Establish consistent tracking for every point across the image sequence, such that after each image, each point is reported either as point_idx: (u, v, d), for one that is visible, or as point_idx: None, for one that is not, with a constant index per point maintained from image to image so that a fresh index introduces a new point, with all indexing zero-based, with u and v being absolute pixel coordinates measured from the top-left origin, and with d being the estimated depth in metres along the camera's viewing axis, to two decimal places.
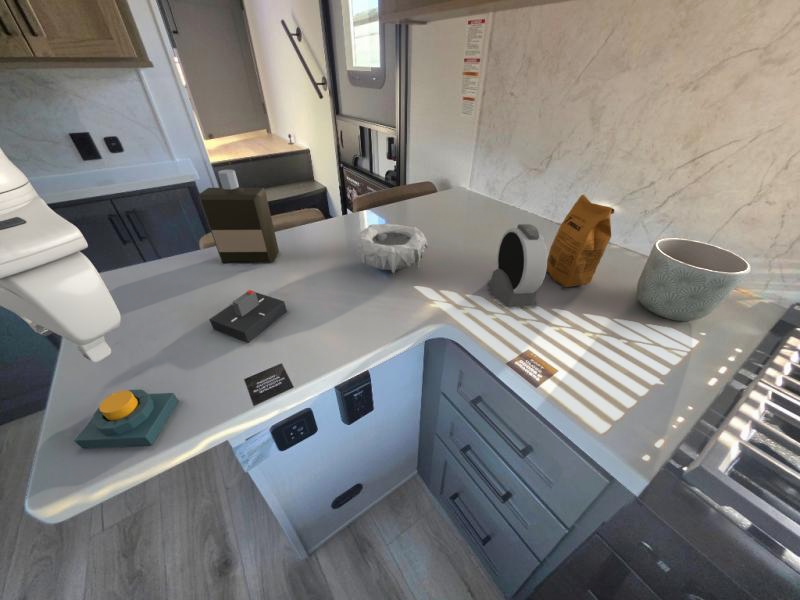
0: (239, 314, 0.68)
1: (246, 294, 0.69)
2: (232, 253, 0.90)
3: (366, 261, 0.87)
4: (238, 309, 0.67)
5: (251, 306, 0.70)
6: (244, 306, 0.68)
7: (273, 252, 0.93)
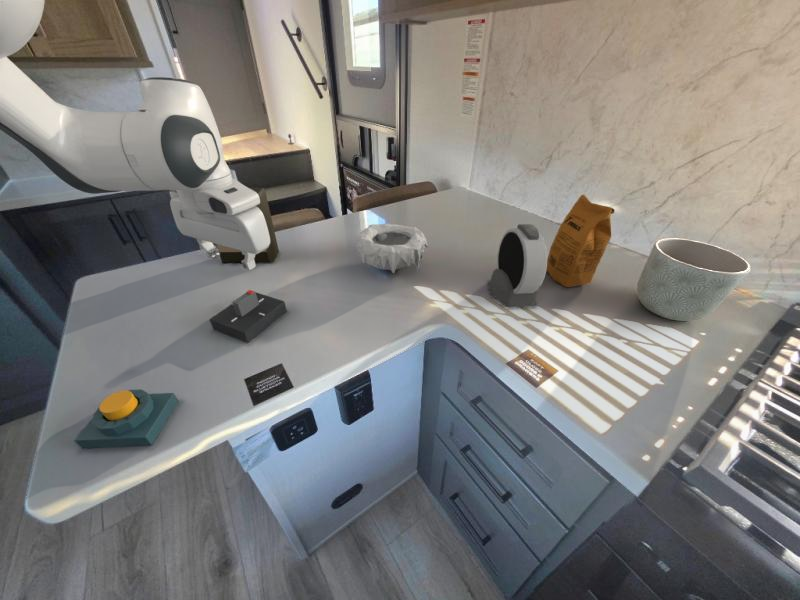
0: (239, 314, 0.68)
1: (246, 294, 0.69)
2: (232, 253, 0.90)
3: (366, 261, 0.87)
4: (238, 309, 0.67)
5: (251, 306, 0.70)
6: (244, 306, 0.68)
7: (273, 252, 0.93)
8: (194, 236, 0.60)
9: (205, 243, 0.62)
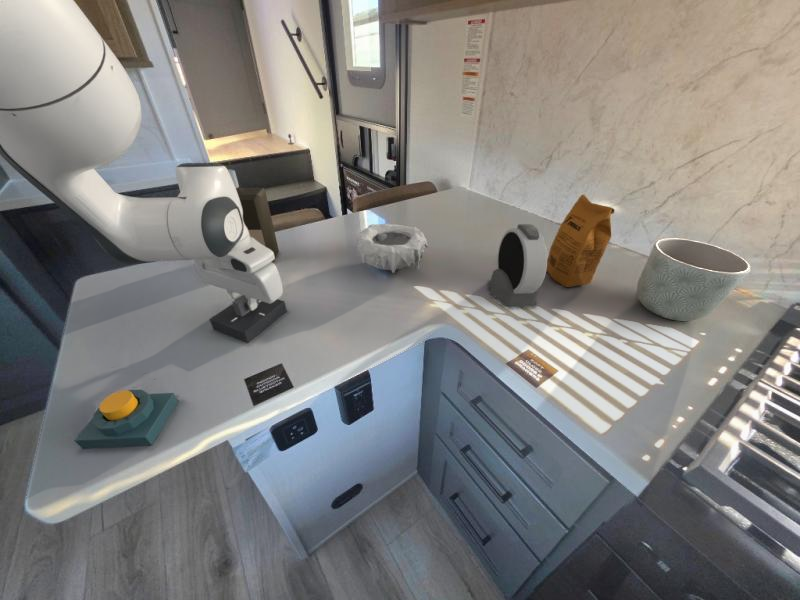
0: (239, 314, 0.68)
1: None
2: None
3: (366, 261, 0.87)
4: (238, 309, 0.67)
5: None
6: (244, 306, 0.68)
7: (273, 252, 0.93)
8: (214, 284, 0.67)
9: (234, 293, 0.68)
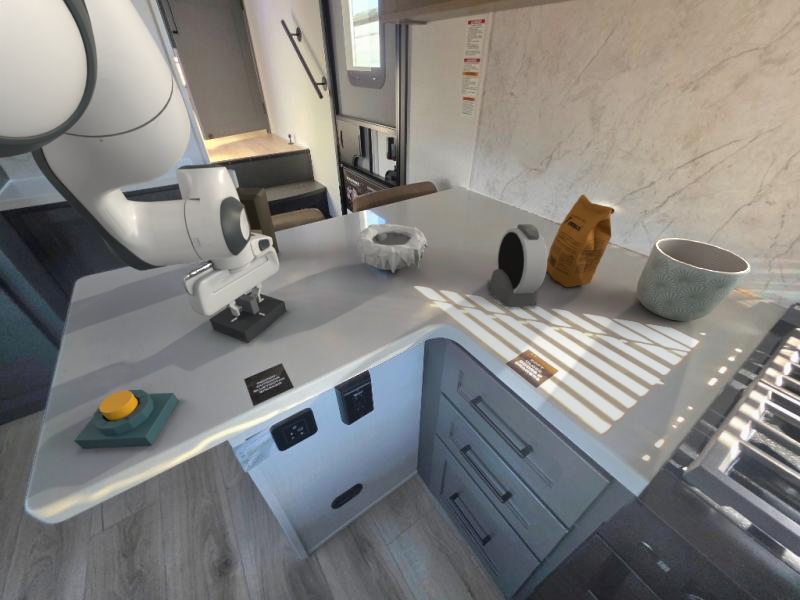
0: (257, 310, 0.69)
1: (240, 296, 0.68)
2: None
3: (366, 261, 0.87)
4: (256, 304, 0.68)
5: None
6: None
7: None
8: (225, 304, 0.62)
9: None
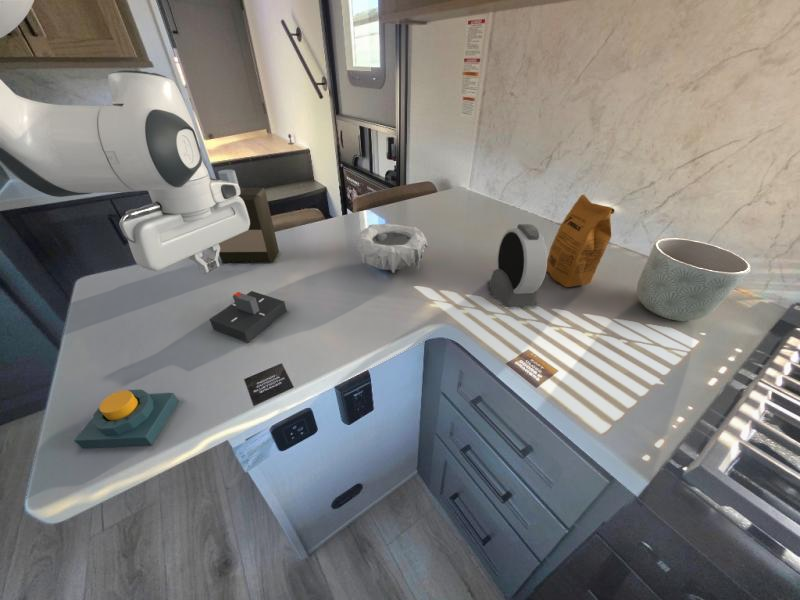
0: (257, 310, 0.69)
1: (240, 296, 0.68)
2: (232, 253, 0.90)
3: (366, 261, 0.87)
4: (256, 304, 0.68)
5: None
6: None
7: (273, 252, 0.93)
8: (179, 258, 0.51)
9: None
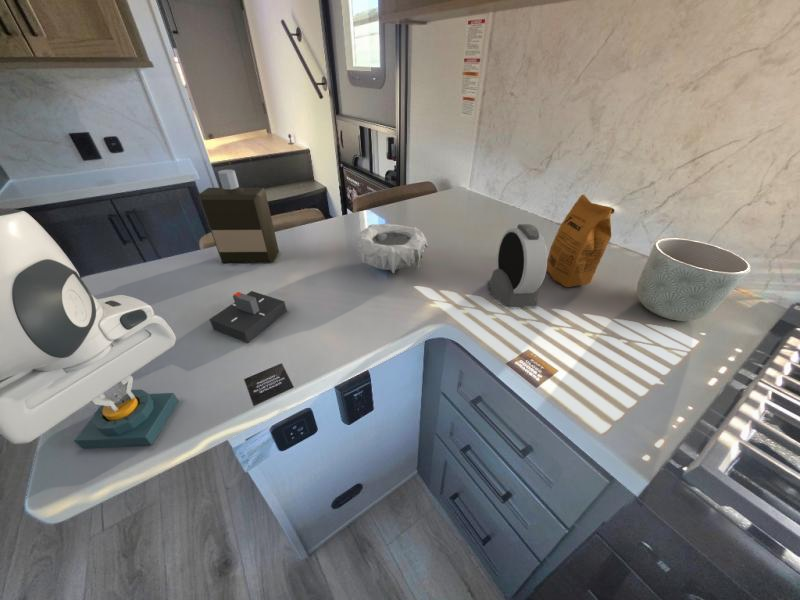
0: (257, 310, 0.69)
1: (240, 296, 0.68)
2: (232, 253, 0.90)
3: (366, 261, 0.87)
4: (256, 304, 0.68)
5: None
6: None
7: (273, 252, 0.93)
8: (63, 416, 0.40)
9: None
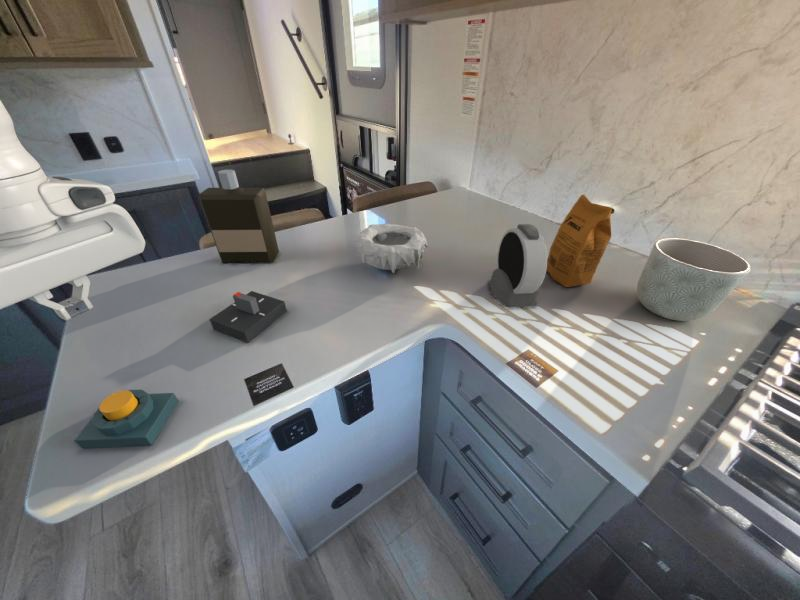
0: (257, 310, 0.69)
1: (240, 296, 0.68)
2: (232, 253, 0.90)
3: (366, 261, 0.87)
4: (256, 304, 0.68)
5: None
6: None
7: (273, 252, 0.93)
8: None
9: (48, 300, 0.37)
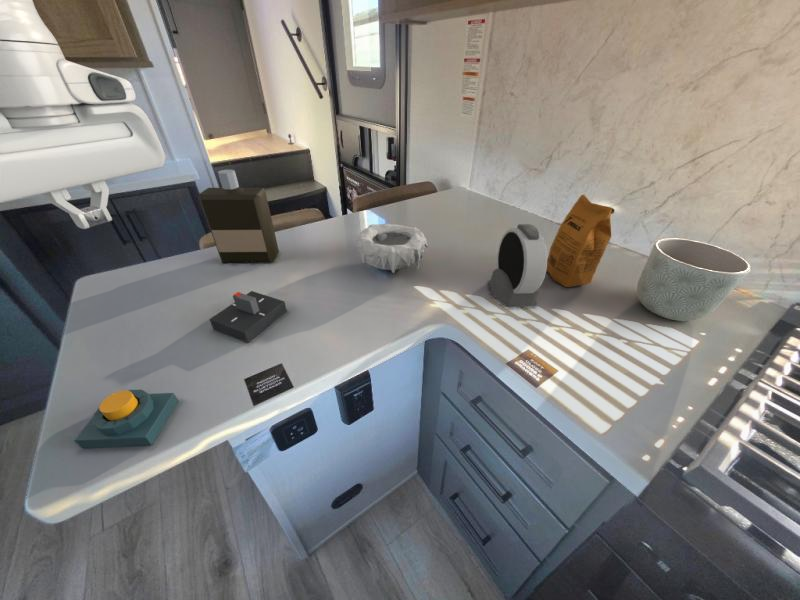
0: (257, 310, 0.69)
1: (240, 296, 0.68)
2: (232, 253, 0.90)
3: (366, 261, 0.87)
4: (256, 304, 0.68)
5: None
6: None
7: (273, 252, 0.93)
8: (10, 195, 0.30)
9: None
